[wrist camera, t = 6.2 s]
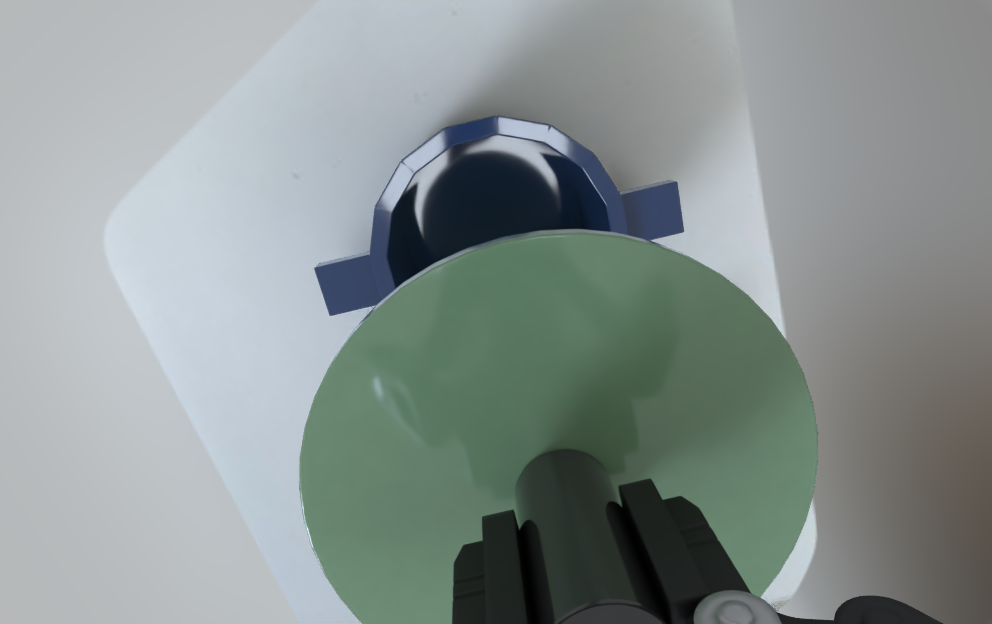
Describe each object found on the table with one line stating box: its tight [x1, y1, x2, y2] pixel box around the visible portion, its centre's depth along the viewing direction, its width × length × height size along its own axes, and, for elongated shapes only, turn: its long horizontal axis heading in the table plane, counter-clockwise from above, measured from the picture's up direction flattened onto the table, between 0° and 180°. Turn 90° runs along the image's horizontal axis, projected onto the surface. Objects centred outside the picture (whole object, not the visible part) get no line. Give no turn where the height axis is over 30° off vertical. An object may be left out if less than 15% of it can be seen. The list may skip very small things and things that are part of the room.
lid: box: [299, 229, 818, 624], centre depth 13 cm, size 13×13×6 cm
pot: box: [314, 115, 684, 316], centre depth 32 cm, size 12×17×8 cm
